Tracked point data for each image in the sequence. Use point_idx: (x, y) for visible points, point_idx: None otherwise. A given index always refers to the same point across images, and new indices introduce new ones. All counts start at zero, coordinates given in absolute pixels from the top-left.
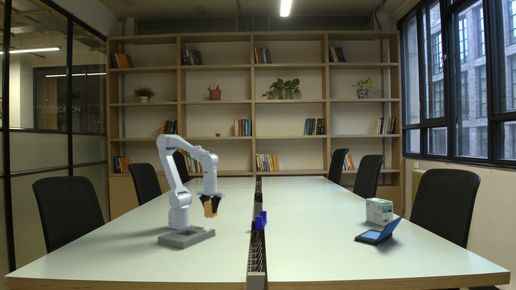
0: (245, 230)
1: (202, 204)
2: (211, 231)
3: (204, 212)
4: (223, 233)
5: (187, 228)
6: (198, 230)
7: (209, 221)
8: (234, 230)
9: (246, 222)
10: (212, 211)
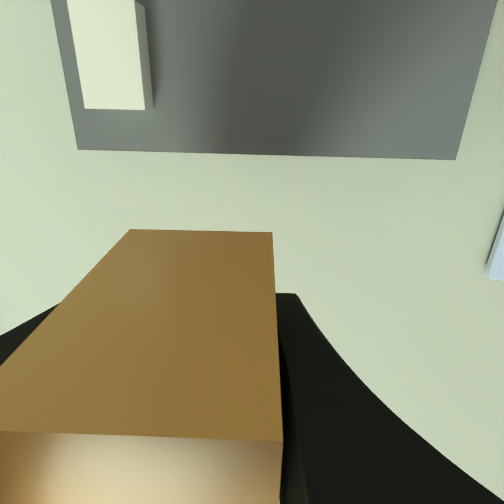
0: None
1: (357, 382)
2: (65, 76)
3: (267, 262)
4: (94, 223)
5: (416, 14)
6: (218, 13)
7: (418, 414)
8: None
9: None
10: None
